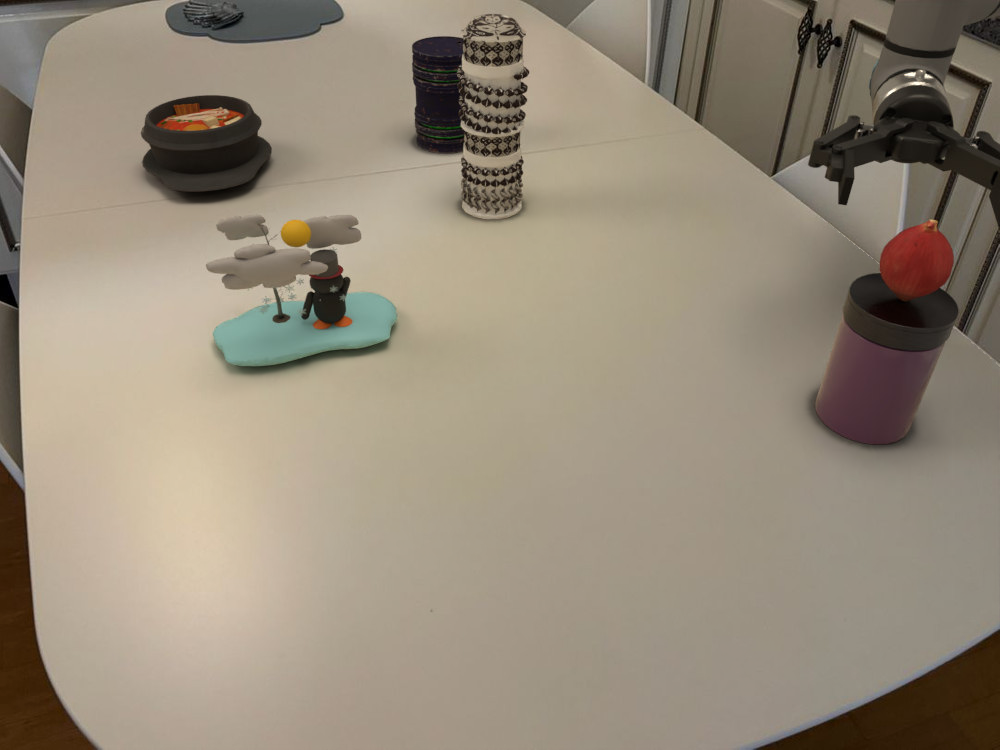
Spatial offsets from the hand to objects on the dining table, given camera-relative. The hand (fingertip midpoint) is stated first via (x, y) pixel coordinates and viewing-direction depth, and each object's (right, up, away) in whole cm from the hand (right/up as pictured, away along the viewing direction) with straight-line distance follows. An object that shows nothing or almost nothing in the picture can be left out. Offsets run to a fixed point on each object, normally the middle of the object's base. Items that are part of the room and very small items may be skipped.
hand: (925, 202), depth 76 cm
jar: (-2, -19, +9) cm, 21 cm away
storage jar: (-47, +22, +61) cm, 80 cm away
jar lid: (-2, -9, +1) cm, 9 cm away
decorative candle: (-39, +8, +44) cm, 59 cm away
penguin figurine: (-59, -11, +18) cm, 63 cm away
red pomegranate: (-2, -9, +1) cm, 9 cm away
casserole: (-82, +16, +52) cm, 98 cm away
